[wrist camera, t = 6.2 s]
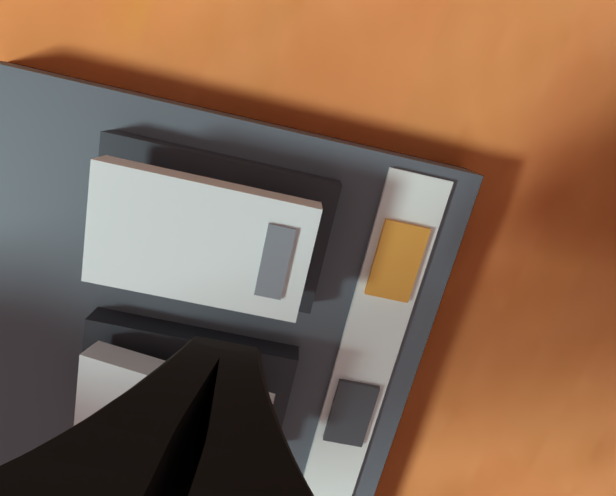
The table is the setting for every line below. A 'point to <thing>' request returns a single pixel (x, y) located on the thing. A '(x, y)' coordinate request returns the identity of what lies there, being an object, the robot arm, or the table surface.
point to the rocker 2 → (109, 376)
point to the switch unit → (210, 320)
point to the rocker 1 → (197, 238)
